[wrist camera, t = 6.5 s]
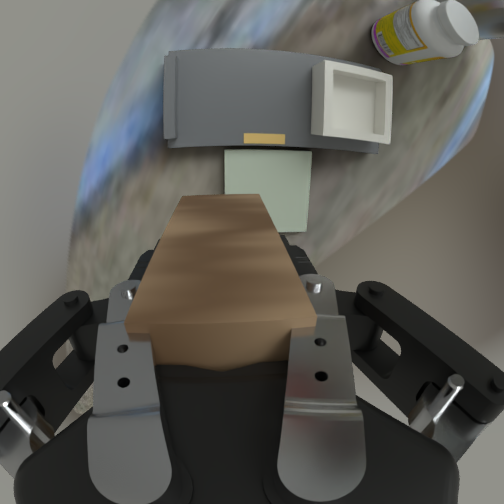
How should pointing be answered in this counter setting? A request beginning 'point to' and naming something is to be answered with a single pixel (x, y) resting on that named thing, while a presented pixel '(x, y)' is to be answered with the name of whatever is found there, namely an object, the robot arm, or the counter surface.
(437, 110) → the counter surface
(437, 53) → the supplement bottle
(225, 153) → the tool rest
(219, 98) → the switch panel
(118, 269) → the counter surface
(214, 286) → the peg
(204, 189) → the counter surface
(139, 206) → the counter surface
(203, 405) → the robot arm
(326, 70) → the tab
